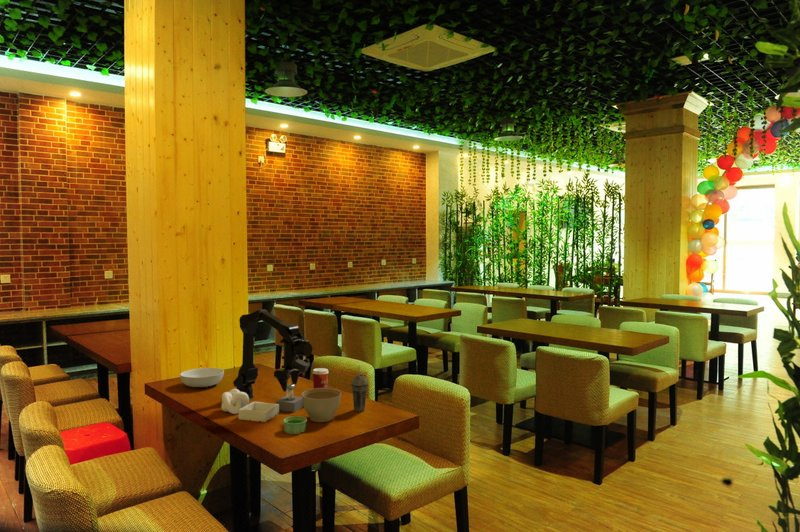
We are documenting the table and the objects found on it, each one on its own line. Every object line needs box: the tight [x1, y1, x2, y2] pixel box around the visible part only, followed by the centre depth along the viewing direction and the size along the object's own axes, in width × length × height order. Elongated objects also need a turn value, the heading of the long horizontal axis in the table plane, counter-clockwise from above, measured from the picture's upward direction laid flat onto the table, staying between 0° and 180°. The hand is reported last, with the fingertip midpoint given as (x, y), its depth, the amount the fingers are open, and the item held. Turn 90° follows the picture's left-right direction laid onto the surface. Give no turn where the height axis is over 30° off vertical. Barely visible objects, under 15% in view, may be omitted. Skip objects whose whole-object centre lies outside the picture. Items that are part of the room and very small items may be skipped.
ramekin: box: [283, 415, 308, 435], centre depth 210 cm, size 9×9×4 cm
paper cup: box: [311, 367, 329, 389], centre depth 252 cm, size 8×8×14 cm
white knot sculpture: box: [221, 388, 250, 415], centre depth 233 cm, size 11×12×9 cm
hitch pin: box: [285, 382, 296, 401], centre depth 238 cm, size 5×5×10 cm
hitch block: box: [275, 395, 304, 413], centre depth 238 cm, size 9×9×4 cm
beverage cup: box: [351, 365, 369, 413], centre depth 236 cm, size 7×7×20 cm
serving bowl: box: [179, 367, 225, 388], centre depth 273 cm, size 21×21×7 cm
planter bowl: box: [301, 387, 342, 423], centre depth 224 cm, size 16×16×11 cm
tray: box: [238, 401, 280, 423], centre depth 226 cm, size 12×12×4 cm
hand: (289, 388), depth 238 cm, fingers open, 9 cm apart
